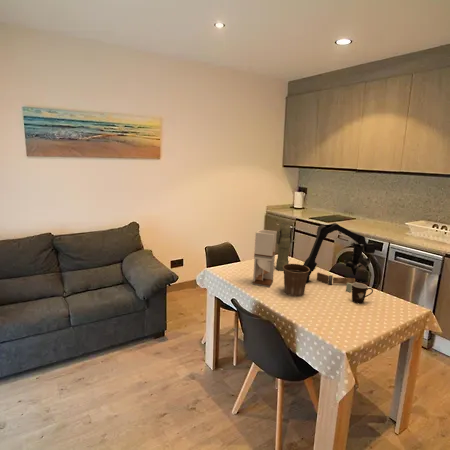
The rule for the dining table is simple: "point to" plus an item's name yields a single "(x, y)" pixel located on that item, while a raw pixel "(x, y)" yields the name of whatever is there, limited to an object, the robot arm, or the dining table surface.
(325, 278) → the hinge post
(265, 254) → the grey dispenser tower
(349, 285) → the latch stile
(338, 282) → the gate
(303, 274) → the plant pot
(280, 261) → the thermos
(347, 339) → the dining table surface
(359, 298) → the coffee mug
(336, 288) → the dining table surface
